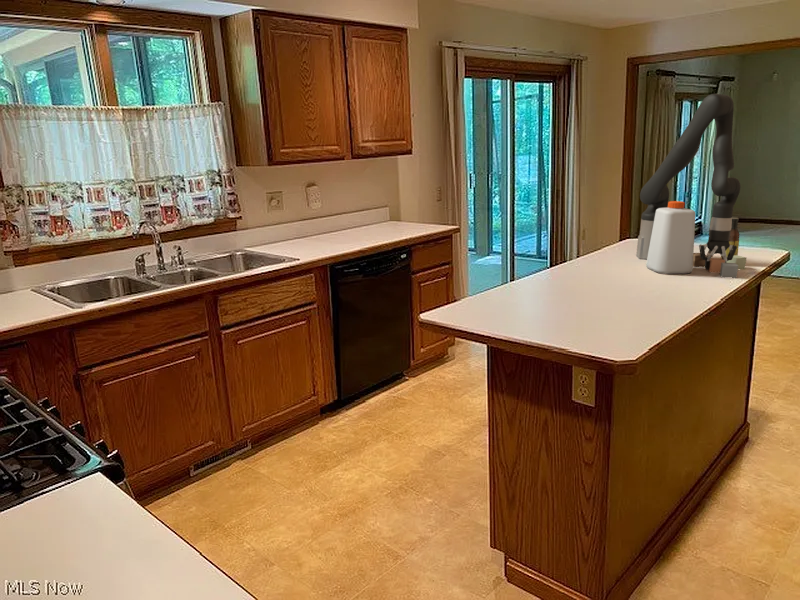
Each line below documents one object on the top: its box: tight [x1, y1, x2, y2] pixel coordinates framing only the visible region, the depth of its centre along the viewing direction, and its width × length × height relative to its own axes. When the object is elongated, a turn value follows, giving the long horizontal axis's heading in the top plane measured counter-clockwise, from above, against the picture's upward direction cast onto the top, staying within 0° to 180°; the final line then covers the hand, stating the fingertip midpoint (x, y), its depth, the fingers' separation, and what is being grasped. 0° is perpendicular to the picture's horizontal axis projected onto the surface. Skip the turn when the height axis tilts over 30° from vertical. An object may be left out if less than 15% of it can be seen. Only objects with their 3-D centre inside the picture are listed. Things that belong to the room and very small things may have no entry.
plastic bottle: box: [645, 200, 696, 275], centre depth 238 cm, size 15×15×28 cm
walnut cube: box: [693, 252, 707, 268], centre depth 250 cm, size 5×5×5 cm
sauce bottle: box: [726, 216, 740, 257], centre depth 249 cm, size 7×6×20 cm
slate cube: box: [719, 262, 739, 279], centre depth 231 cm, size 5×5×5 cm
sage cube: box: [726, 254, 747, 270], centre depth 244 cm, size 5×5×5 cm
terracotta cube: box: [707, 257, 725, 273], centre depth 239 cm, size 5×5×5 cm
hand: (714, 269), depth 240 cm, fingers closed on terracotta cube, 5 cm apart
